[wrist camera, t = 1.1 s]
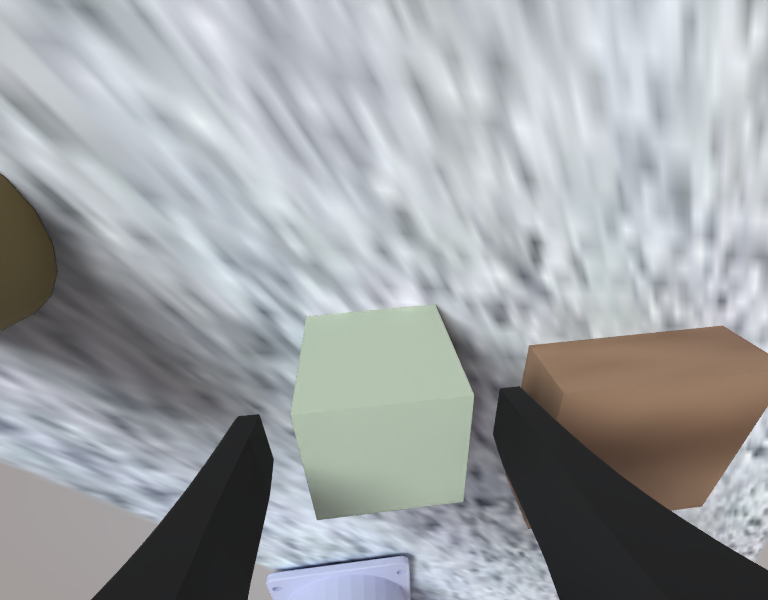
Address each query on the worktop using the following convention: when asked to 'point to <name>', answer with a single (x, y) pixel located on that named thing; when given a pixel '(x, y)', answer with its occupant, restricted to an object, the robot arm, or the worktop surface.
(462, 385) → the sage cube
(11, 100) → the worktop surface
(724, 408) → the walnut block
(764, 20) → the worktop surface
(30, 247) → the cork
